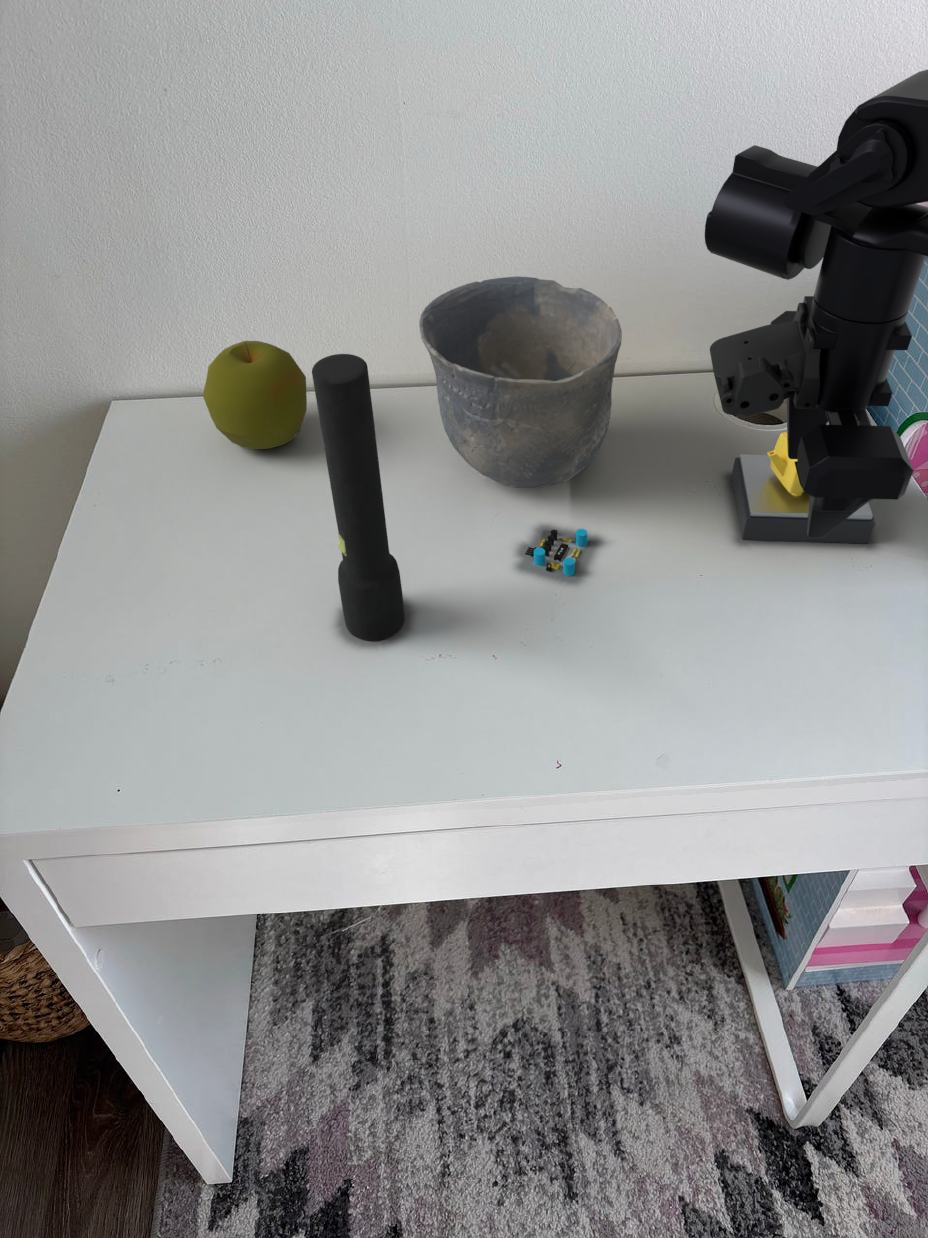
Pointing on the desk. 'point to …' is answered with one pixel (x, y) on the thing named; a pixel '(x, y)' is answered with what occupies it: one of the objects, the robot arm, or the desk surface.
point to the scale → (784, 507)
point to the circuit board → (558, 552)
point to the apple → (256, 395)
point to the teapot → (785, 466)
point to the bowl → (523, 376)
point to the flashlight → (357, 499)
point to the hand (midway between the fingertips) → (804, 495)
